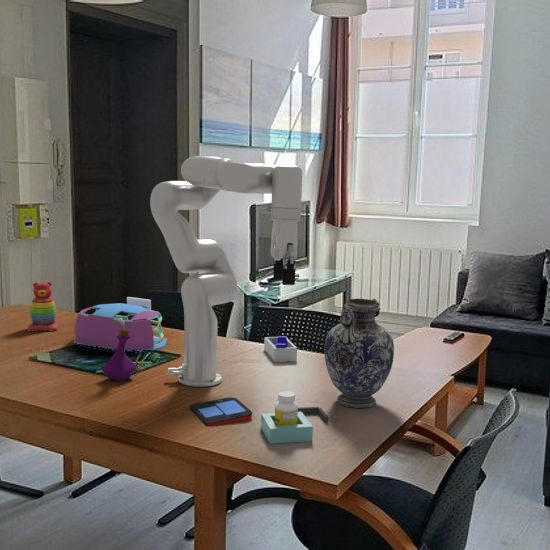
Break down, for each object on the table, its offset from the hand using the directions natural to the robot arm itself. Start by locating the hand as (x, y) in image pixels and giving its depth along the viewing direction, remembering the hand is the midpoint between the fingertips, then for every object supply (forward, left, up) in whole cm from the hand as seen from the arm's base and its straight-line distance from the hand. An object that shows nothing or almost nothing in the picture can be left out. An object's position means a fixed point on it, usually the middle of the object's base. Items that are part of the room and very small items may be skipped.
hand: (283, 281), depth 173 cm
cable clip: (+11, +49, -34) cm, 61 cm away
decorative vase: (+22, +1, -34) cm, 40 cm away
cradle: (+5, -10, -33) cm, 35 cm away
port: (-3, -19, -33) cm, 38 cm away
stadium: (-40, +75, -34) cm, 91 cm away
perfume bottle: (-41, +30, -34) cm, 61 cm away
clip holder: (+12, +50, -33) cm, 61 cm away
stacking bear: (-69, +98, -34) cm, 124 cm away
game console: (-16, -3, -34) cm, 38 cm away
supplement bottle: (-3, -19, -34) cm, 38 cm away
